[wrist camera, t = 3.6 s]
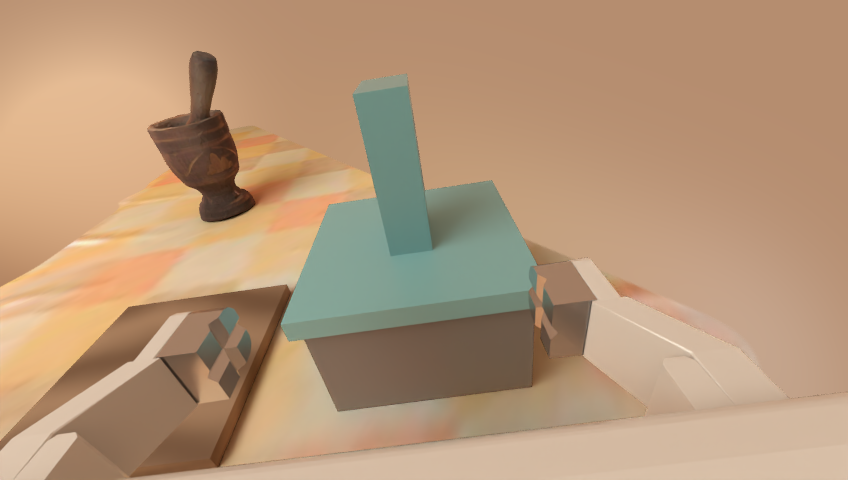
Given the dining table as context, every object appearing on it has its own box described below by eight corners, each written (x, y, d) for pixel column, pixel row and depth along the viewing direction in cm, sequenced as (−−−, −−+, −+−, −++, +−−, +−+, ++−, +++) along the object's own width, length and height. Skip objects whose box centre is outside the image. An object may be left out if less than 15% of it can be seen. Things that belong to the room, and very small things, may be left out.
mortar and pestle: (286, 189, 55) (231, 45, 44) (272, 215, 48) (203, 49, 37) (212, 202, 55) (139, 60, 44) (187, 230, 47) (92, 68, 37)
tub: (531, 386, 21) (535, 300, 18) (337, 411, 22) (301, 332, 18) (490, 268, 32) (487, 197, 28) (359, 286, 32) (338, 219, 28)
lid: (547, 320, 18) (563, 82, 12) (295, 354, 18) (188, 141, 12) (492, 205, 29) (486, 51, 23) (336, 228, 29) (290, 83, 23)
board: (217, 467, 20) (209, 458, 19) (-33, 498, 20) (-48, 490, 20) (290, 292, 33) (286, 284, 32) (134, 314, 33) (128, 306, 33)
